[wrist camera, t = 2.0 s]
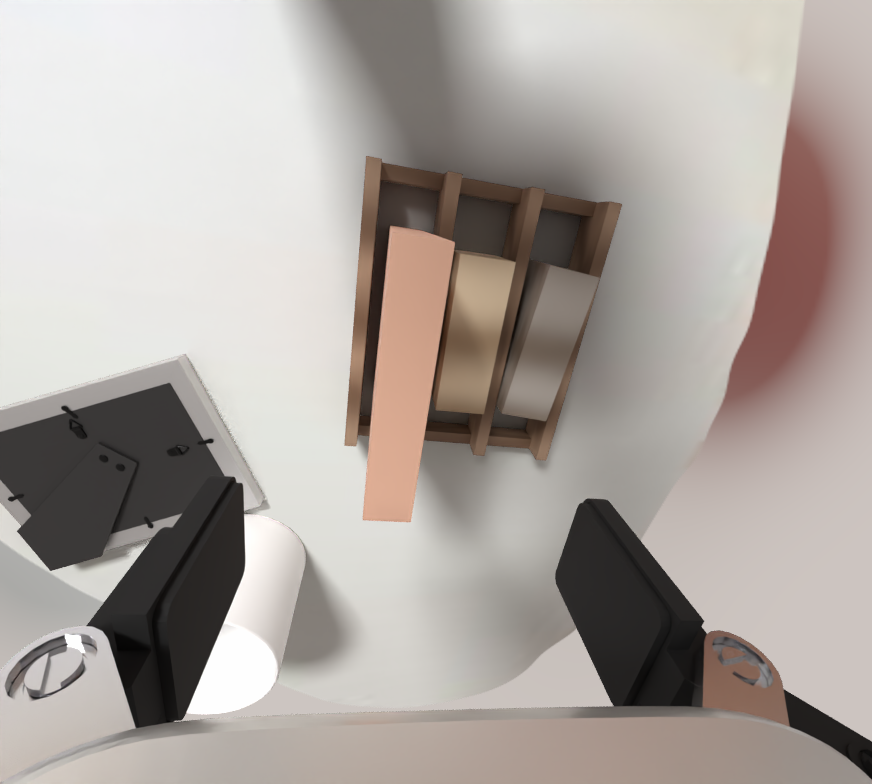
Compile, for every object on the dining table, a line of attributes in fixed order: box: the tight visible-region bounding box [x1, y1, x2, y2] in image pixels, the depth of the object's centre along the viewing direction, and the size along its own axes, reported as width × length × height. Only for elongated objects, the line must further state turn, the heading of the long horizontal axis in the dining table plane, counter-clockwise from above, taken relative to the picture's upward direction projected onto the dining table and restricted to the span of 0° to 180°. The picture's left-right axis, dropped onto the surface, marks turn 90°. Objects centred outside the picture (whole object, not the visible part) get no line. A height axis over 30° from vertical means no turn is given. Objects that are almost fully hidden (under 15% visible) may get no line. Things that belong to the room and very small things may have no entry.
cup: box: [186, 514, 306, 714], centre depth 38 cm, size 12×12×12 cm
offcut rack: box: [344, 156, 622, 460], centre depth 34 cm, size 22×18×4 cm
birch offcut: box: [431, 249, 516, 414], centre depth 33 cm, size 12×4×6 cm, turn 172°
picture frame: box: [0, 354, 264, 571], centre depth 37 cm, size 16×3×21 cm
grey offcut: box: [496, 259, 600, 421], centre depth 34 cm, size 12×4×6 cm, turn 166°
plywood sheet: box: [363, 225, 455, 522], centre depth 27 cm, size 14×2×18 cm, turn 171°
